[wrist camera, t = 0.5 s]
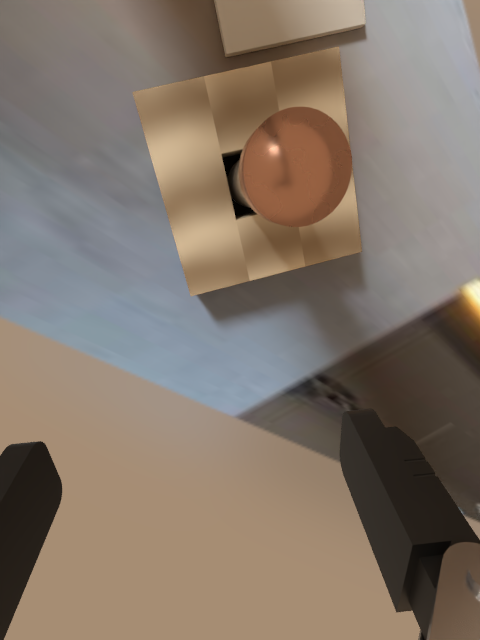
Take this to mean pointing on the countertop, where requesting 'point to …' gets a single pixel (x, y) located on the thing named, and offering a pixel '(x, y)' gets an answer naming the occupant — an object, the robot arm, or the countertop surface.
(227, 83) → the bore block
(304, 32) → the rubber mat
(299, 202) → the copper-capped metal cylinder
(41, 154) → the countertop surface
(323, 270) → the countertop surface
